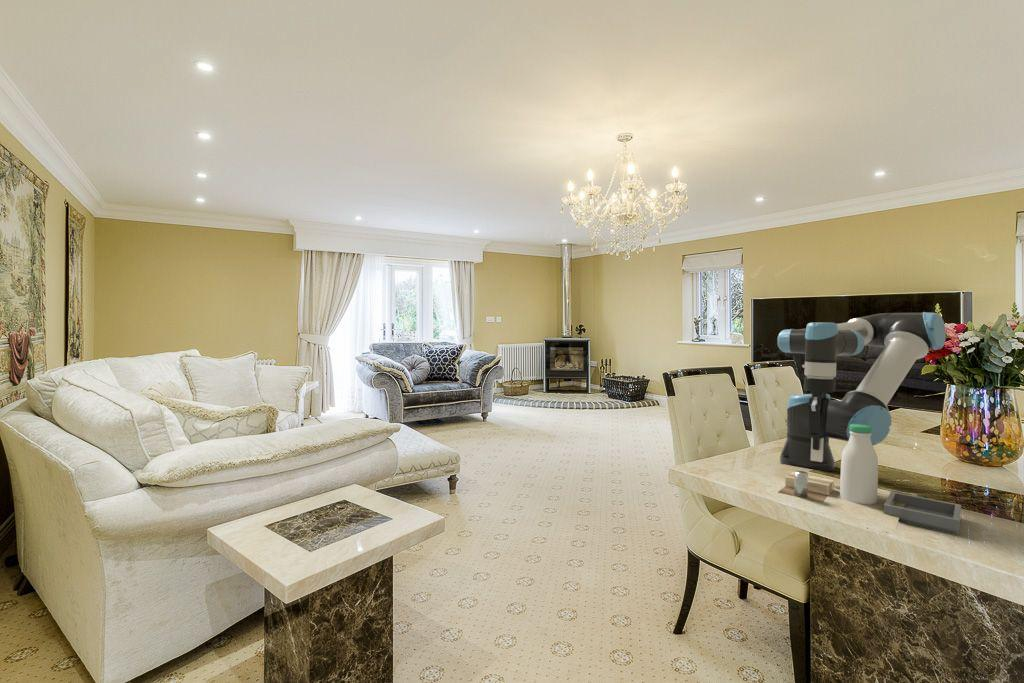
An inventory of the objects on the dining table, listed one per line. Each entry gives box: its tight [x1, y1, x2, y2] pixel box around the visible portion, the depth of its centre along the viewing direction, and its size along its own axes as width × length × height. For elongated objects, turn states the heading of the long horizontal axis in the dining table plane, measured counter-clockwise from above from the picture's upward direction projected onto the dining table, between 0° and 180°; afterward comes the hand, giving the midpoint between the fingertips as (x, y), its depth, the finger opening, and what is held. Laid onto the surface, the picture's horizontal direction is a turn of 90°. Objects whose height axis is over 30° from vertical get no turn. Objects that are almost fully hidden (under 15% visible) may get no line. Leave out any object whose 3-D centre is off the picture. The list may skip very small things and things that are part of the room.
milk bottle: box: [839, 424, 879, 505], centre depth 123 cm, size 8×8×20 cm
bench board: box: [777, 486, 835, 503], centre depth 129 cm, size 14×10×1 cm
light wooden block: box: [784, 471, 835, 496], centre depth 131 cm, size 6×10×2 cm, turn 46°
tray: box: [882, 491, 962, 536], centre depth 114 cm, size 13×13×3 cm
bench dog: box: [794, 470, 809, 499], centre depth 125 cm, size 3×3×6 cm
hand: (816, 460), depth 137 cm, fingers closed
